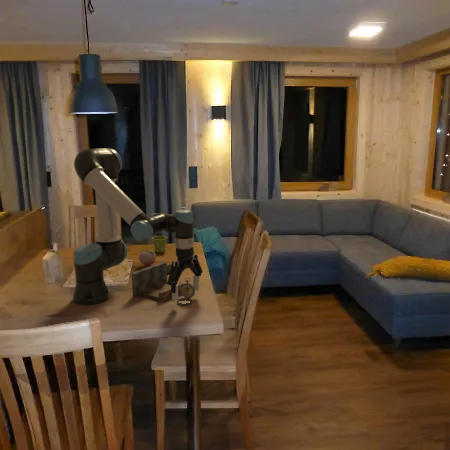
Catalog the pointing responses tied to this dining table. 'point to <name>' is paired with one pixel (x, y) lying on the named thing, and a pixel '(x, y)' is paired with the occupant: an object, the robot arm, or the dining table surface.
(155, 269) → the display stand
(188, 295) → the pocket watch
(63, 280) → the dining table surface
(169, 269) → the smart home device
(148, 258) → the decorative fruit
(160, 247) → the plant pot
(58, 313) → the dining table surface
